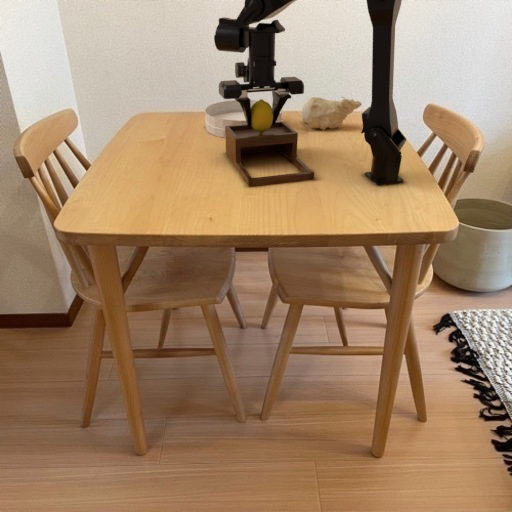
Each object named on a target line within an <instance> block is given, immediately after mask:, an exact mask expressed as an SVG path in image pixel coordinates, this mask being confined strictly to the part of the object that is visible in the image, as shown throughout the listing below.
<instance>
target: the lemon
mask: <svg viewBox="0 0 512 512" xmlns="http://www.w3.org/2000/svg"><path fill="white" fill-rule="evenodd" d="M256 101H257V102H255V103H254V104H253V105H252V107H251V126H252V127H253V129H255V130H256V131H258V132H259V133H260V134H262V133H263V132H264V131H266V130H268V129H269V128H270V127H271V125H272V122H273V111H272V108H271V106H270V105H269V104H268V103H267V102H268V101H265V100H264V99H259V100H256Z"/></svg>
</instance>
